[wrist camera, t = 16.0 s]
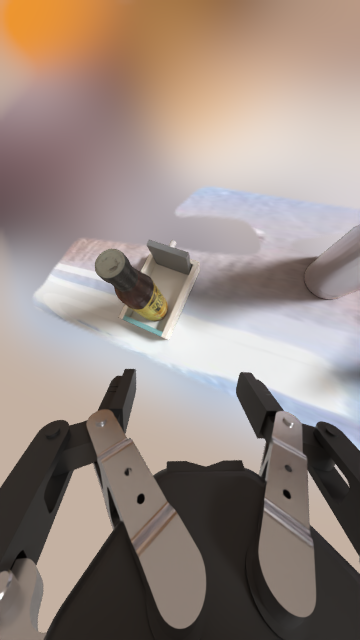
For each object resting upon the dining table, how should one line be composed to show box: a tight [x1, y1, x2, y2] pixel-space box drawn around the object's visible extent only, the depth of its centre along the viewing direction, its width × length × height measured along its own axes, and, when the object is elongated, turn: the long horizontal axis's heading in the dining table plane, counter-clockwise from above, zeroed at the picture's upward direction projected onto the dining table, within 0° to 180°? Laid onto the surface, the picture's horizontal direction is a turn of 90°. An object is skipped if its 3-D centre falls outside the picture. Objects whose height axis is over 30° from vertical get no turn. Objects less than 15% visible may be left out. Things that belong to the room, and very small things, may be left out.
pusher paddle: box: [147, 240, 191, 275], centre depth 37 cm, size 3×9×8 cm, turn 66°
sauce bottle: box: [95, 249, 168, 321], centre depth 30 cm, size 7×6×20 cm
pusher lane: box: [118, 252, 200, 340], centre depth 39 cm, size 18×12×4 cm, turn 156°
